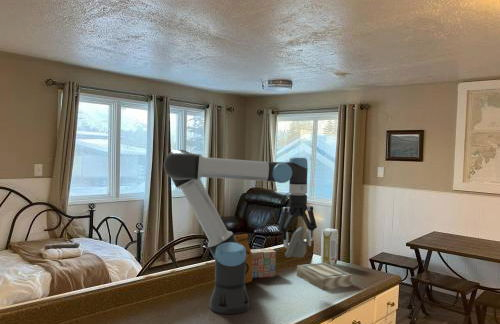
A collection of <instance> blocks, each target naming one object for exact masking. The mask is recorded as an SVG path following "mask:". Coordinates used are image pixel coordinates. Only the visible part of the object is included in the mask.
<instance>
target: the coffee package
mask: <svg viewBox="0 0 500 324" xmlns="http://www.w3.org/2000/svg"><path fill="white" fill-rule="evenodd" d="M234 236H235V238H236V240H237V242H238V243H239V244H241V245H243V246H244V247H245V249H246V269H245V284H249V283H252V281H253V278H252V261H253V259H252V254H251V250H252V249H251V248H250V244H249V242H248V238H249V235H248V233H245V234H244V233H243V234H238V235H234Z"/></svg>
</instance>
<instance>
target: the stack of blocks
mask: <svg viewBox="0 0 500 324" xmlns="http://www.w3.org/2000/svg"><path fill="white" fill-rule="evenodd" d="M250 250H251V254H252V259H253V261H252V279H255V278H257V277H259V278H272V277H274V278H275V277H276V267H277V265H276V263H277V251H276V250H274V249H273V248H256V249H253V248H252V249H250Z"/></svg>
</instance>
